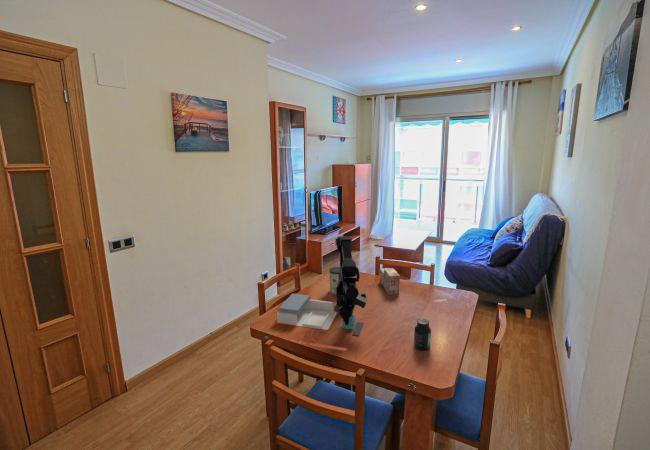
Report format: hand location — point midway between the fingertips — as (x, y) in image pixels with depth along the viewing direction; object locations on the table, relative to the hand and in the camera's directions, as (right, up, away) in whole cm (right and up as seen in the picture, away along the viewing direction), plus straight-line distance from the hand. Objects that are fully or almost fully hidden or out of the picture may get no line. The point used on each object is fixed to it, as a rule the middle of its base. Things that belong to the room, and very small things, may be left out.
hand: (349, 320), depth 161 cm
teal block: (0, -3, +1) cm, 4 cm away
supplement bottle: (+31, -7, -15) cm, 35 cm away
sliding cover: (-27, +5, +11) cm, 30 cm away
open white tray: (-20, -2, +10) cm, 23 cm away
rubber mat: (0, -4, +1) cm, 4 cm away
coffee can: (-4, +5, +44) cm, 44 cm away
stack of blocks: (+28, +6, +48) cm, 57 cm away
